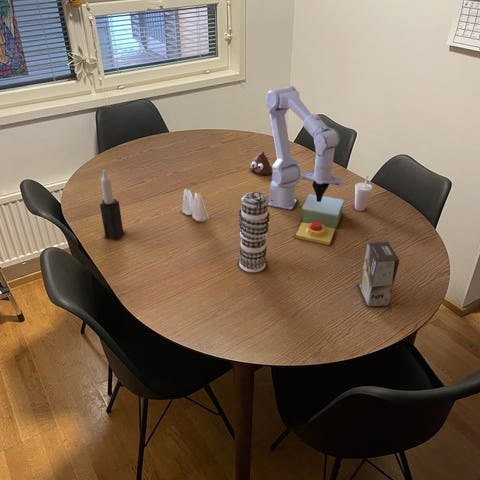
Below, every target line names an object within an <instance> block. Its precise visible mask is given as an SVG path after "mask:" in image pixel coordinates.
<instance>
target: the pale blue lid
mask: <svg viewBox="0 0 480 480" xmlns="http://www.w3.org/2000/svg"><path fill="white" fill-rule="evenodd" d="M344 202H345V200H344V199H341V198H335V197H330V196H324V195H323V196H322V200H321V202H317V199H316V194H314V193H308V195H307V197H306V199H305V201H304V203H303V204H302V207H301V210H302V211H304V210H307V211H312V212H317V213H322V214H327V215H333V216H338V215H339V213H340V210H341V207H342V204H343V205H344Z"/></svg>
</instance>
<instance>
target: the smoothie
mask: <svg viewBox="0 0 480 480" xmlns="http://www.w3.org/2000/svg"><path fill="white" fill-rule="evenodd" d="M368 177H369V176H368V175H366V176H365V181H364V182H357V183H355V185H354V210H356V211H358V212H363V211H365V209H366V206H367V203H368V200H369V198H370V194H371V192H372V191H373V186H372V185H371V184H369V183H367V182H368Z"/></svg>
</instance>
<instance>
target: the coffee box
mask: <svg viewBox="0 0 480 480" xmlns="http://www.w3.org/2000/svg"><path fill="white" fill-rule="evenodd" d="M399 265H400V259H399V257H398V255H397V254H396V252H395V251H394V249H393V247H392V246H391V244H390V243H389V241H374V242H367V245H366V251H365V255H364V262H363V266H362V271H361V277H360V281H359V289H360V291H361V294H362V296H363V299H364V301H365V303H366V305H367V306H368V307H378V306H389V303H390V299H391V295H392V291H393V288H394V285H395V284H394V283H395V281H396V275H397V272H398V268H399Z"/></svg>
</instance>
